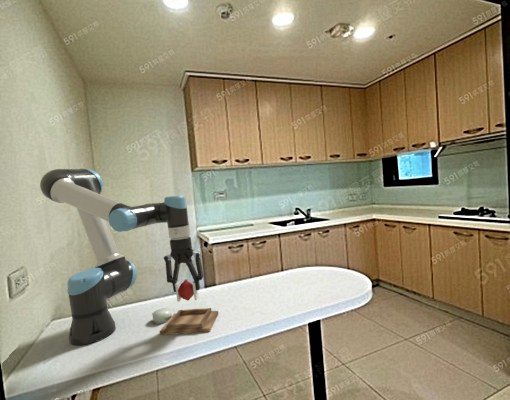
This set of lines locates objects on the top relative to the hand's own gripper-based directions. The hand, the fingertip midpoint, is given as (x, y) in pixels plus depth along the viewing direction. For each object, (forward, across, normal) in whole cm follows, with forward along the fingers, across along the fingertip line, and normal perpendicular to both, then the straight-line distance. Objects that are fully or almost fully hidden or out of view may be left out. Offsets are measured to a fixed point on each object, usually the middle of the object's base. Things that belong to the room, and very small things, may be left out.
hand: (188, 299), depth 112 cm
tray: (+9, 0, 0) cm, 9 cm away
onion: (+1, 0, 0) cm, 1 cm away
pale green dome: (+9, -13, +5) cm, 17 cm away
